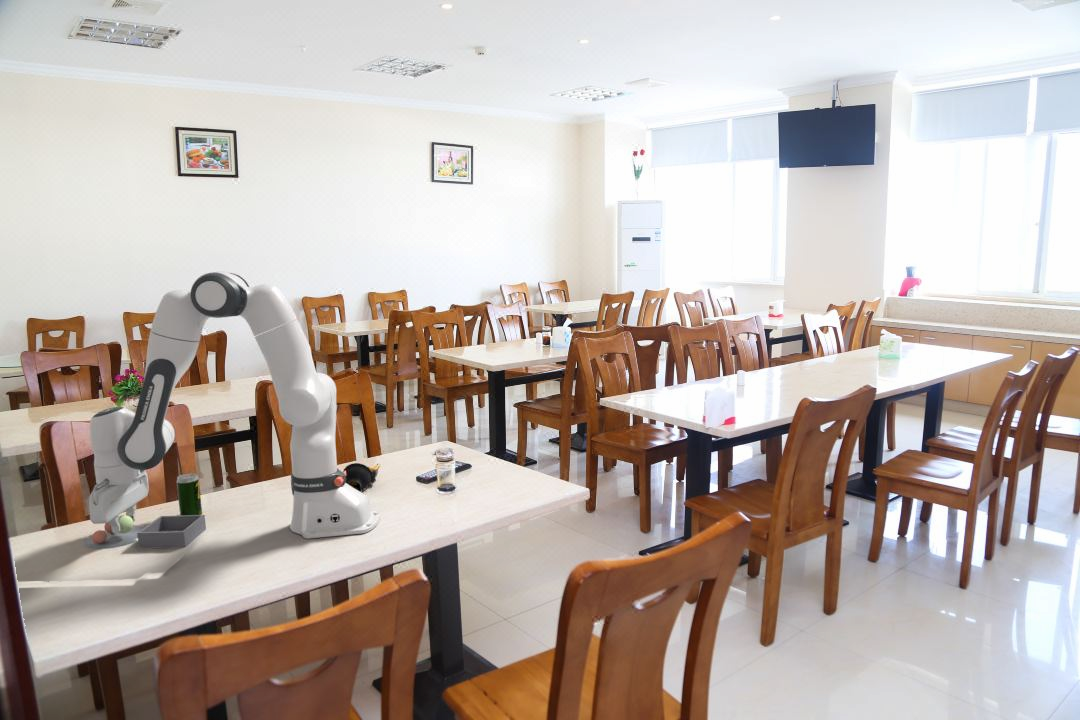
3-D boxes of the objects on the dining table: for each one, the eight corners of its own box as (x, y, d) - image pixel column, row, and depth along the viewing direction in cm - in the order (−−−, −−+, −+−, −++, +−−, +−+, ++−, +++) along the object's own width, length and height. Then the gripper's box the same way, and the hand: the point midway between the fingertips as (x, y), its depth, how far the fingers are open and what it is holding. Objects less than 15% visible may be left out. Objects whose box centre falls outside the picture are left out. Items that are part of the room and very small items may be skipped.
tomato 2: (122, 529, 193) (120, 517, 192) (115, 534, 190) (113, 522, 189) (109, 529, 193) (108, 518, 192) (102, 534, 190) (100, 522, 189)
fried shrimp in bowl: (332, 481, 216) (345, 445, 232) (352, 508, 221) (364, 472, 237) (360, 470, 215) (371, 434, 231) (379, 498, 220) (390, 461, 235)
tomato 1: (110, 540, 186) (108, 528, 186) (103, 545, 183) (101, 533, 182) (97, 540, 186) (96, 528, 186) (89, 546, 183) (88, 533, 182)
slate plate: (162, 528, 196) (162, 524, 196) (131, 552, 181) (131, 548, 181) (105, 530, 196) (104, 525, 196) (69, 554, 181) (69, 549, 181)
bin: (206, 533, 192) (204, 514, 191) (185, 551, 181) (183, 532, 180) (162, 534, 192) (160, 515, 191) (139, 552, 181) (137, 533, 180)
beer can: (182, 524, 199) (177, 480, 197) (179, 518, 203) (174, 475, 201) (204, 520, 202) (199, 476, 200) (200, 514, 206) (196, 471, 204)
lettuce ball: (138, 529, 189) (135, 512, 189) (128, 535, 185) (126, 518, 184) (120, 529, 189) (118, 512, 189) (110, 536, 185) (108, 519, 184)
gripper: (104, 487, 174) (113, 543, 177) (150, 460, 195) (157, 512, 197) (77, 488, 174) (86, 544, 177) (125, 461, 195) (133, 512, 197)
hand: (124, 527), depth 187 cm, fingers closed on lettuce ball, 4 cm apart
